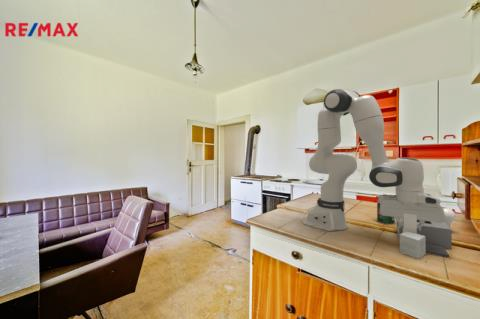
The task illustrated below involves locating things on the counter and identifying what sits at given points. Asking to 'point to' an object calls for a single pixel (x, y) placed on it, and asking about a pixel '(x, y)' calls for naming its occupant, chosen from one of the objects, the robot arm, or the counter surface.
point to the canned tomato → (384, 217)
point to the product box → (412, 244)
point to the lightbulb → (449, 216)
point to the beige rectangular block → (410, 223)
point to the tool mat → (436, 250)
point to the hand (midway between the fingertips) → (409, 228)
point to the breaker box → (433, 233)
